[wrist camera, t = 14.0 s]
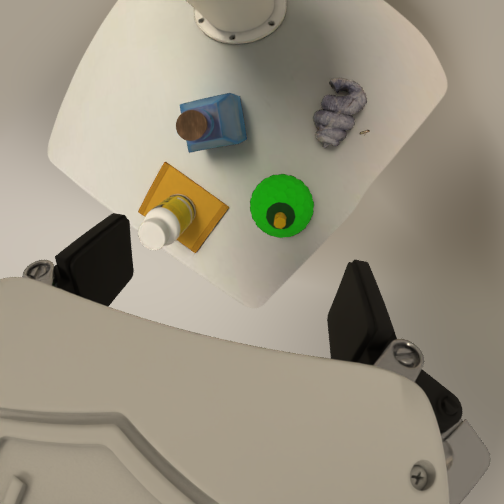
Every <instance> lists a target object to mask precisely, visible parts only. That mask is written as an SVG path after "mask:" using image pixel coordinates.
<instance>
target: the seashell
mask: <svg viewBox="0 0 504 504" xmlns="http://www.w3.org/2000/svg"><path fill="white" fill-rule="evenodd" d="M329 84H330V85H331V87H332V88H333V89H335V90H336V93H339V91H346V92H348V93H349V94H348V95H347V96H337V97H336V96H335V95H326V96H324V97H323V99H322V102H321V106H322V108H323V110H319V111H316V112H315V114H314V116H313V119H314V122H315V125H316V127H317V129H318V131H317V132H316V134H315V136H316V139H317V140H318V141H320V142H322V143H323V147H325V148H326V147H327V146H329V145H333V146H337V145H339V141H341V140H343V139H345V138H346V131H345V130H350V129H351V128H352V127H353V126H354V125H355V122H354V120H355V119H354V117H353V116H352V115H353V114H354V113H357V112H359V110H361V109H363V107H364V106H365V104H366V103H367V97H366V94H365V92H364V90H363V88H362V87H361V86H360V85H359V84H358V83H357V82H355V81H350V80H347V79H342V78H337V79H331V80H330V82H329Z"/></svg>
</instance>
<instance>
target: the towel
mask: <svg viewBox="0 0 504 504" xmlns="http://www.w3.org/2000/svg"><path fill="white" fill-rule="evenodd" d="M174 194H182V195H185V196H187V197H188V198H189V199H190V200H191V201H192V202H193V204H194V206H195V210H196V214H195V218H194V220H193V221H192V223H191V224H190V225H189V226H188V227H187V228H186V229H185V230H184V232H183V233H182V234H181V235H180V236H179V237H178V238H177V239H176V240H178V241H179V242H180V243H182V244H183V245H185V246H186V247H187V248H189V249H190V250H191V251H193V252H194V253H196V252H197V250H198V249H199V248H200V246H201V245H202V244H203V242H204V241H205V239H206V238H207V237H208V235H209V234H210V232H211V231H212V230H213V228H214V227H215V226H216V224H217V223H218V222H219V220H220V219H221V218H222V216H223V215H224V214H225V212H226V211H227V210H228V208H229V207H228V206H227V205H226V204H224V203H223V202H221V201H220V200H219V199H217V198H216V197H215V196H213V195H212V194H210V193H209V192H208V191H206V190H205V189H203V188H202V187H201V186H199V185H198V184H196V183H195V182H194V181H192V180H191V179H189V178H188V177H187V176H185V175H184V174H182V173H181V172H180V171H178V170H177V169H175V168H174V167H172V166H171V165H170V164H168V163H167V162H164V164H163V165H162V167H161V169H160V171H159V173H158V174H157V176H156V178H155V180H154V182H153V184H152V185H151V187H150V189H149V191H148V193H147V195H146V197H145V199H144V201H143V203H142V205H141V207H140V209H139V211H138V212H139V213H140V214H142V215H143V216H146V215H147V213H148V212H149V211H150V210H152V209H153V208H154V207H156V206H157V205H159V204H160V203H161V202H163V201H164V200H165V199H167V198H168V197H170V196H171V195H174Z"/></svg>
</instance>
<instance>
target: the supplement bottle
mask: <svg viewBox="0 0 504 504" xmlns="http://www.w3.org/2000/svg"><path fill="white" fill-rule="evenodd" d="M195 214H196V210H195V206H194V204H193V202H192V201H191V200H190V199H189V198H188V197H187V196H185V195H182V194H174V195H171V196H170V197H168V198H167V199H165V200H164V201H163V202H161V203H160V204H159V205H157V206H156V207H154V208H153V209H152V210H150V211H149V212H148V213H147V215H146V216H145V219H144V223H142V224H141V225H140V227H139V230H138V236H139V239H140V241H141V242H142V244H143V245H144V246H145V247H146V248H148V249H151V250H159V249H161V248H162V247H163V246H165V245H170V244H172V243H173V242H174V241H176V239H177V238H178V237H179V236H180V235H181V234H182V233H183V232H184V230H185V229H186V228H187V227H188V226H189V225H190V224H191V223H192V221H193V220H194V218H195Z"/></svg>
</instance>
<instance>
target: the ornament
mask: <svg viewBox="0 0 504 504" xmlns="http://www.w3.org/2000/svg"><path fill="white" fill-rule="evenodd" d="M250 205H251V206H250V211H251V214H252V218H253V220H254V221H255V222H256V225H257V227H259V228H260V229H261V230H262V231H263V232H265V233H267V234H268V235H270V236H274V237H278V238H284V237H291V236H294V235H296V234H298V233H300V232H301V231H302V230H304V229H305V228H306V226H307V224H308V223H309V222H310V220H311V217H312V215H313V207H314V202H313V199H312V194H311V193H310V191H309V189H308V187H307V186H306V185H304V183H303V182H302V181H301V180H299V179H296V178H295V177H294V176H291V175H290V176H288V175H285V174H280V175H272V176H270V177H269V178H265V179H264V180H263V181H261V183H260V184H258V185H257V187H256V189H255V190H254V191H253V193H252V198H251V200H250Z"/></svg>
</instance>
